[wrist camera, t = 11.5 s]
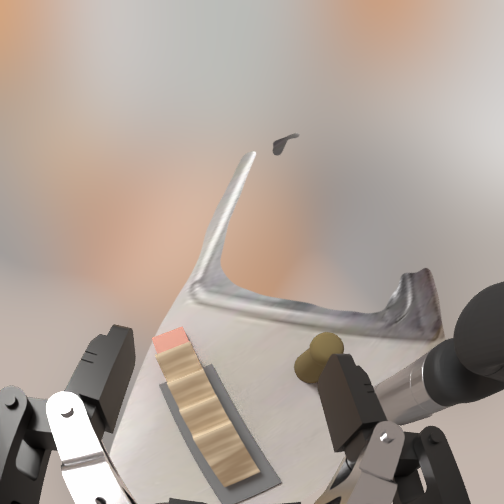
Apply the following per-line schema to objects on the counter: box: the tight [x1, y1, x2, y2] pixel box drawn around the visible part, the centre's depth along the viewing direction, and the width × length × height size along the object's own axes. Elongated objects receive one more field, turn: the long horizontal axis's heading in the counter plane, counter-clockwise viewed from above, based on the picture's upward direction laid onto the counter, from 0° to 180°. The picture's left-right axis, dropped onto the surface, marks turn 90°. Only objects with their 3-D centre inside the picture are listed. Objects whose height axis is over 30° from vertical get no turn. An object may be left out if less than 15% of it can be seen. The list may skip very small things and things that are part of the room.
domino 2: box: [155, 341, 202, 382], centre depth 39 cm, size 2×6×10 cm
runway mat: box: [159, 364, 281, 504], centre depth 36 cm, size 24×10×1 cm, turn 28°
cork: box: [294, 332, 344, 383], centre depth 41 cm, size 6×6×11 cm
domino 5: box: [192, 420, 260, 487], centre depth 31 cm, size 2×6×10 cm
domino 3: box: [167, 368, 215, 409], centre depth 36 cm, size 2×6×10 cm
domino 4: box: [179, 394, 229, 434], centre depth 34 cm, size 2×6×10 cm
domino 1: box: [152, 327, 189, 354], centre depth 43 cm, size 2×6×10 cm
